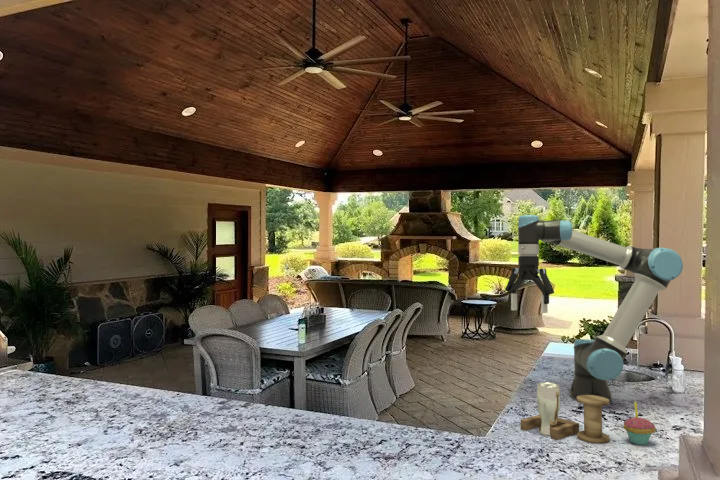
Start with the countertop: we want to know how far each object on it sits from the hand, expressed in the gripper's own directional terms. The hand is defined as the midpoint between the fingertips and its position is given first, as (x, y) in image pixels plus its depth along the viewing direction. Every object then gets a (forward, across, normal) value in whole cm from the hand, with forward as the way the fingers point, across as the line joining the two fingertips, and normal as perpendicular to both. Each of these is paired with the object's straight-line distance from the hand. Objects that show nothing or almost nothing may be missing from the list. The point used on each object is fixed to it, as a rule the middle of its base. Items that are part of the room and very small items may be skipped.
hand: (528, 311), depth 204 cm
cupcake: (+35, +46, -10) cm, 58 cm away
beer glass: (+35, +25, -24) cm, 49 cm away
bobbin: (+35, +36, -18) cm, 53 cm away
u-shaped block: (+35, +24, -22) cm, 48 cm away
